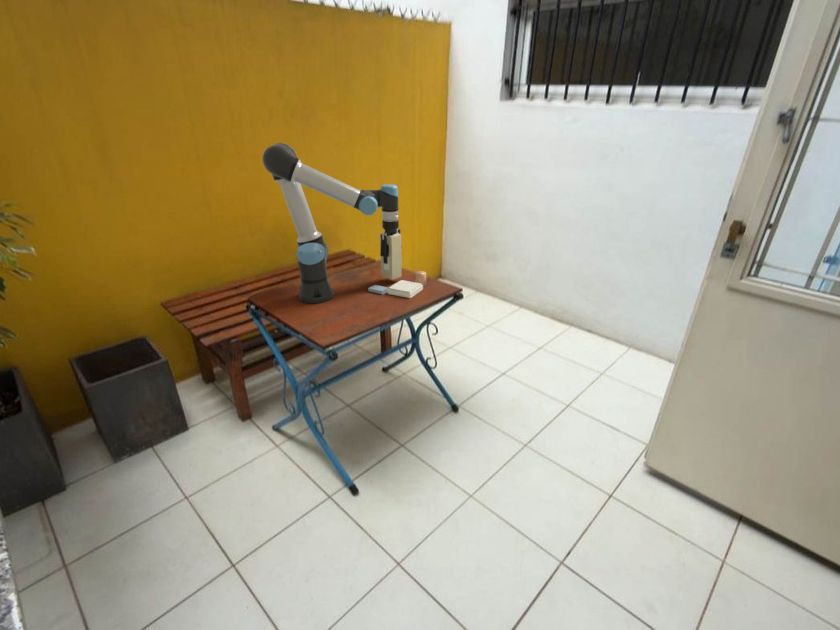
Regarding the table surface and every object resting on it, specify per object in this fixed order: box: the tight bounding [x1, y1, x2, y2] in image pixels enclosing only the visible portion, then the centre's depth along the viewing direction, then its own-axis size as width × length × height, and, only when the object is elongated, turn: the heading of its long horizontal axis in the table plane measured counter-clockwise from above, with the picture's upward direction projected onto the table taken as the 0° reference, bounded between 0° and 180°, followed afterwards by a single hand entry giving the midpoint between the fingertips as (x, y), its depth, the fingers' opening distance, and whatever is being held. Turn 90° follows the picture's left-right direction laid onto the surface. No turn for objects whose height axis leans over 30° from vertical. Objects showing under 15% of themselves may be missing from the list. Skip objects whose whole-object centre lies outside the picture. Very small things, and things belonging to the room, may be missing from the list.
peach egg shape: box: [415, 270, 427, 287], centre depth 204 cm, size 5×5×6 cm
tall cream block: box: [379, 232, 403, 281], centre depth 205 cm, size 8×7×21 cm
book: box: [367, 284, 389, 295], centre depth 199 cm, size 8×5×2 cm, turn 59°
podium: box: [386, 279, 424, 299], centre depth 198 cm, size 12×12×3 cm
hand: (391, 266), depth 208 cm, fingers closed on tall cream block, 8 cm apart
